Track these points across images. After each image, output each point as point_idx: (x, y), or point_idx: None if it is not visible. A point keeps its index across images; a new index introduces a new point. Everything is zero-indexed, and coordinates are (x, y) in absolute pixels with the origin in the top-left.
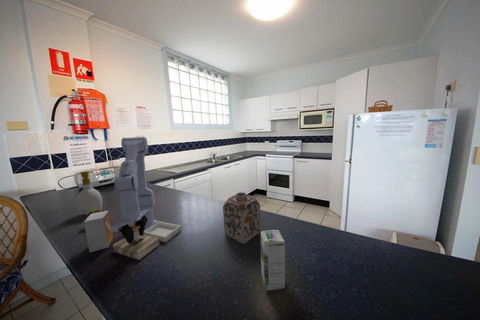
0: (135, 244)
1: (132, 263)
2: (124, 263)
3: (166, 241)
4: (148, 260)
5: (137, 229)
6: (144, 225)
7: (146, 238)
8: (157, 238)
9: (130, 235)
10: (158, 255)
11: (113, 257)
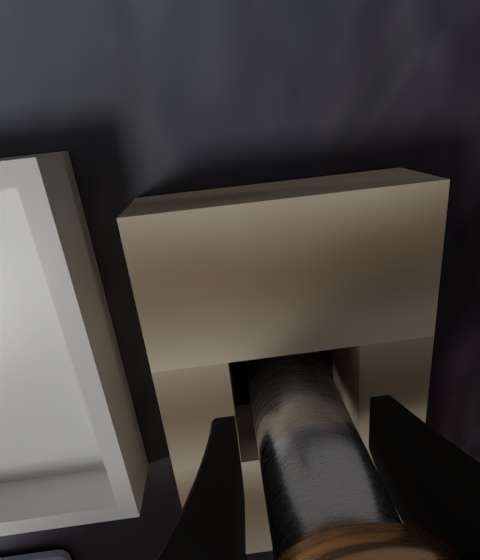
0: (323, 370)
1: (452, 184)
2: (467, 257)
3: (52, 152)
4: (374, 53)
5: (329, 526)
6: (185, 543)
7: (207, 354)
8: (132, 217)
9: (462, 472)
10: (271, 9)
11: (432, 410)
